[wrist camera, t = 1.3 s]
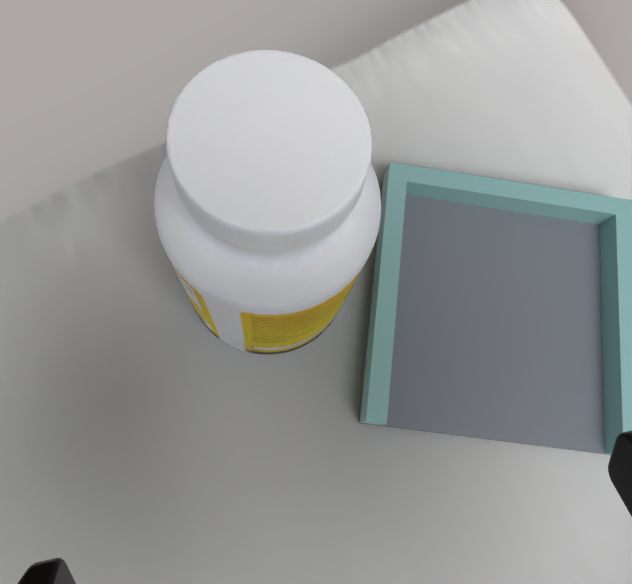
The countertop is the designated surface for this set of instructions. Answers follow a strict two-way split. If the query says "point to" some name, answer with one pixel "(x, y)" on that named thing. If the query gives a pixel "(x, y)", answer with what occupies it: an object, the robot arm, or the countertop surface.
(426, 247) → the dock
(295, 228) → the pill bottle
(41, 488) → the countertop surface
